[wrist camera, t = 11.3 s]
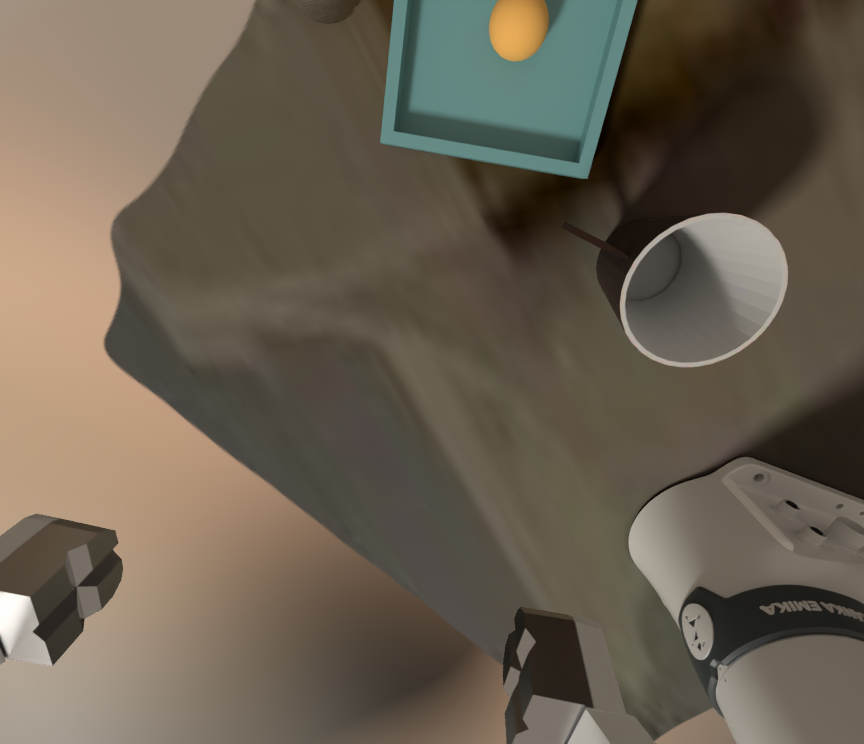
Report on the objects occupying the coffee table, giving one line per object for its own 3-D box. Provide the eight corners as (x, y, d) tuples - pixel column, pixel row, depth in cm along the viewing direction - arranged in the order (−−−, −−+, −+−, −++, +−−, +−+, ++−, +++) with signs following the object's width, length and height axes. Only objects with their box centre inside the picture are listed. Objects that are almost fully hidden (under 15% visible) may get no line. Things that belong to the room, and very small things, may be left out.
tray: (650, -81, 26) (667, -106, 23) (579, 178, 31) (587, 178, 29) (414, -119, 26) (408, -148, 24) (387, 145, 32) (380, 142, 29)
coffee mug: (721, 272, 33) (814, 308, 24) (618, 338, 36) (667, 393, 27) (642, 138, 30) (715, 122, 21) (536, 222, 33) (560, 239, 24)
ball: (536, 15, 28) (566, -16, 25) (526, 76, 29) (553, 54, 25) (485, -2, 27) (509, -37, 24) (476, 62, 28) (498, 37, 24)
